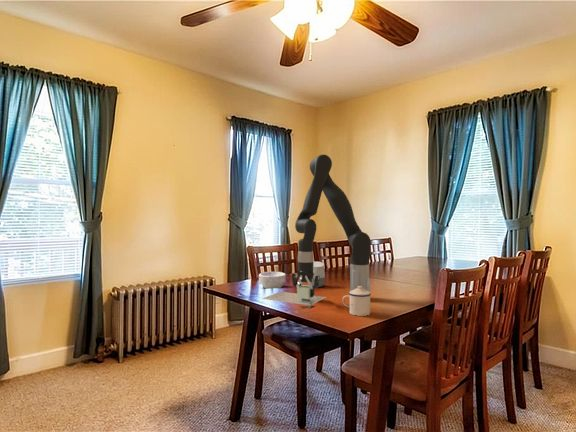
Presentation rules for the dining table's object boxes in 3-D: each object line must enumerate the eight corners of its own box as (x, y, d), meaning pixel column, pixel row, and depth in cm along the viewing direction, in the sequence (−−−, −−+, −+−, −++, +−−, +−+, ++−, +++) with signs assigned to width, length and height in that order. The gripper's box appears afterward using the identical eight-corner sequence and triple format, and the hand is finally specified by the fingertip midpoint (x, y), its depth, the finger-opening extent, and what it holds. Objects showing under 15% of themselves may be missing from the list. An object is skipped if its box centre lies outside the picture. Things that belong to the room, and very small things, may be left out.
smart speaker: (308, 288, 206) (308, 263, 206) (308, 284, 216) (308, 261, 215) (325, 288, 206) (325, 263, 206) (324, 285, 215) (324, 261, 215)
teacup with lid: (372, 311, 157) (372, 284, 157) (369, 317, 148) (369, 289, 148) (344, 309, 161) (344, 282, 161) (340, 314, 153) (340, 286, 153)
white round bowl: (274, 291, 197) (274, 276, 197) (253, 288, 206) (253, 274, 206) (290, 287, 209) (290, 273, 209) (270, 283, 219) (270, 270, 218)
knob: (313, 296, 174) (314, 285, 174) (308, 299, 169) (308, 288, 169) (302, 295, 177) (302, 284, 177) (297, 297, 172) (297, 286, 172)
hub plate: (326, 300, 178) (326, 287, 178) (310, 308, 162) (310, 295, 162) (280, 294, 190) (280, 282, 190) (261, 301, 174) (261, 289, 174)
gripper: (322, 260, 173) (322, 296, 173) (295, 258, 180) (295, 292, 180) (316, 262, 166) (315, 299, 166) (288, 260, 173) (288, 295, 173)
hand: (305, 295), depth 173 cm, fingers closed on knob, 6 cm apart
